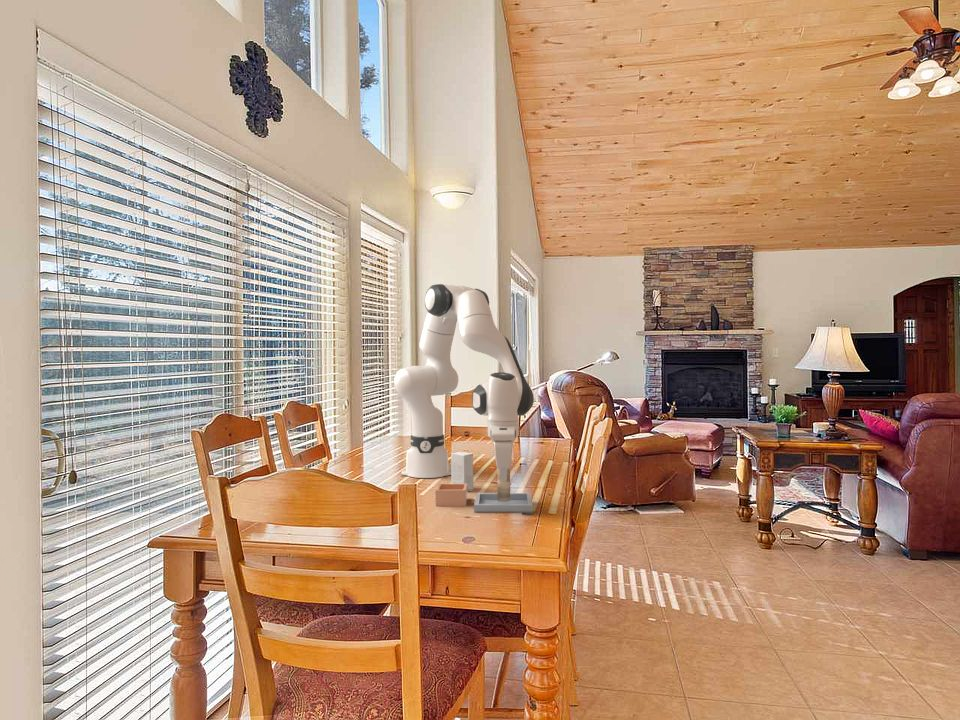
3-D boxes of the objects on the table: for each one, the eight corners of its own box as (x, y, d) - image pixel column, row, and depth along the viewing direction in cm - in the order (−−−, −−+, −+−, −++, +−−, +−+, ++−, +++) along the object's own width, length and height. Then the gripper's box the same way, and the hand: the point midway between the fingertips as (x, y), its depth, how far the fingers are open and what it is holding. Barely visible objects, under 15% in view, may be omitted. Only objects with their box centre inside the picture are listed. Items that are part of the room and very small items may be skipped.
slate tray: (476, 501, 186) (476, 492, 186) (530, 501, 186) (530, 493, 186) (474, 514, 172) (474, 505, 172) (532, 514, 172) (532, 505, 172)
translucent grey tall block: (497, 498, 181) (497, 457, 181) (510, 498, 181) (509, 457, 180) (497, 502, 177) (497, 459, 177) (510, 502, 177) (509, 459, 177)
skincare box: (473, 491, 199) (473, 453, 199) (464, 493, 196) (464, 455, 196) (460, 488, 203) (460, 451, 203) (450, 490, 200) (450, 453, 200)
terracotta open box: (438, 500, 188) (438, 483, 188) (467, 500, 188) (467, 483, 188) (435, 507, 179) (435, 490, 179) (465, 507, 179) (465, 490, 179)
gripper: (492, 425, 189) (493, 471, 189) (491, 435, 169) (491, 486, 169) (513, 425, 189) (514, 471, 189) (515, 435, 168) (515, 486, 169)
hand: (503, 478), depth 179 cm, fingers closed on translucent grey tall block, 4 cm apart
